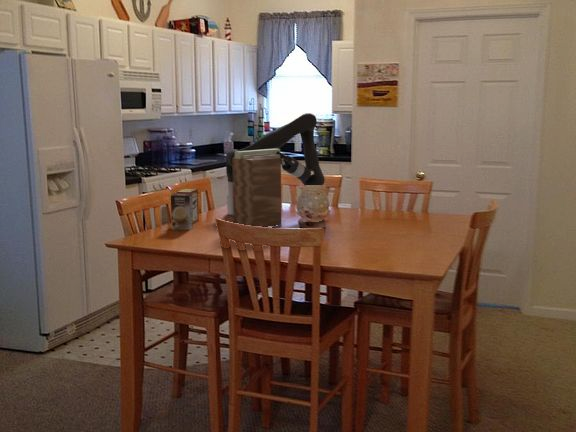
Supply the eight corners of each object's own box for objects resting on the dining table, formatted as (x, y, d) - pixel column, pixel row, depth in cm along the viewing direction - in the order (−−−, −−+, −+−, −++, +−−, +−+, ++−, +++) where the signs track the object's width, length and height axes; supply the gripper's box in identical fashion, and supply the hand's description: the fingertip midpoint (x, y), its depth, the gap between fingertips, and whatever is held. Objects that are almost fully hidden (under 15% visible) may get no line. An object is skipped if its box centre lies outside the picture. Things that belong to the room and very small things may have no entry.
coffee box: (170, 229, 294) (169, 195, 291) (174, 227, 300) (173, 193, 297) (190, 230, 293) (189, 195, 290) (193, 227, 299) (192, 193, 296)
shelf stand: (233, 225, 303) (232, 154, 297) (260, 220, 313) (259, 152, 307) (254, 230, 291) (253, 157, 285) (281, 225, 301) (280, 154, 295)
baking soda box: (190, 224, 306) (189, 191, 303) (178, 223, 308) (176, 190, 305) (198, 220, 315) (197, 188, 312) (186, 220, 317) (185, 188, 314)
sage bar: (234, 158, 296) (234, 151, 295) (275, 154, 311) (275, 148, 310) (239, 158, 293) (239, 152, 292) (280, 155, 308) (280, 149, 307)
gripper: (286, 159, 323) (265, 144, 313) (305, 161, 312) (283, 146, 302) (281, 172, 322) (259, 158, 311) (300, 175, 311) (277, 160, 301)
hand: (271, 152), depth 307 cm, fingers open, 8 cm apart
